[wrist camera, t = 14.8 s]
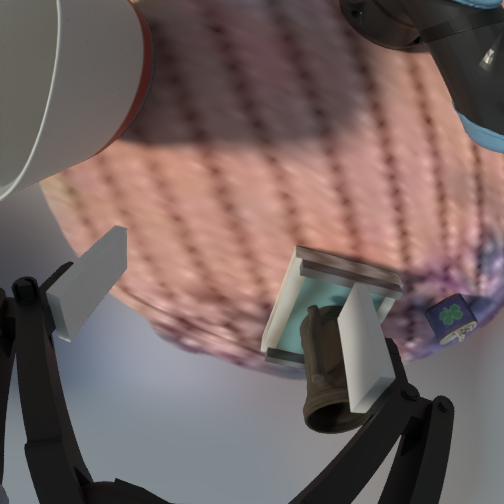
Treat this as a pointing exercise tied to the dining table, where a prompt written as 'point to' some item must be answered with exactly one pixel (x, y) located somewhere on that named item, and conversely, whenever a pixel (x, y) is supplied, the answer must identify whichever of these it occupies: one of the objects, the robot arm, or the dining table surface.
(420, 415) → the robot arm
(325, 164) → the dining table surface
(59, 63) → the planter
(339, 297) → the tray
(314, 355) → the beer stein
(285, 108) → the dining table surface
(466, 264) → the dining table surface
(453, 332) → the flask
